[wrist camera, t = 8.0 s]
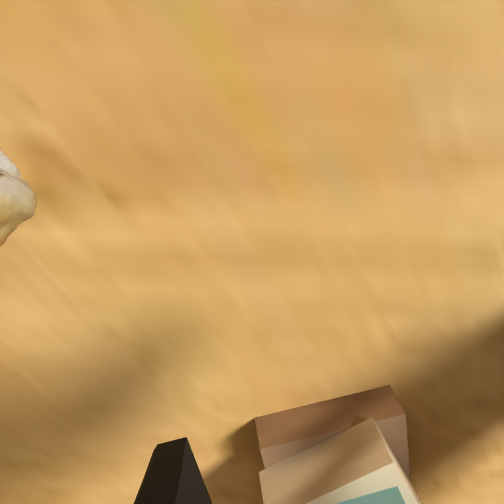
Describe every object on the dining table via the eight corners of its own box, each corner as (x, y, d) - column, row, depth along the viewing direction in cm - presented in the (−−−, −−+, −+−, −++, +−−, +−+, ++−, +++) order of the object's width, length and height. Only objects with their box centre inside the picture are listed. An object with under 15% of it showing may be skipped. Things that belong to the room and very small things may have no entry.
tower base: (385, 378, 24) (406, 414, 21) (393, 470, 27) (412, 510, 24) (253, 410, 24) (259, 449, 21) (276, 499, 27) (284, 541, 24)
